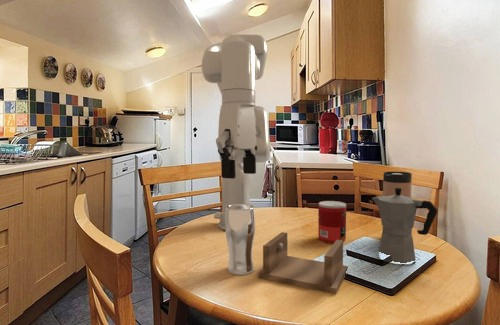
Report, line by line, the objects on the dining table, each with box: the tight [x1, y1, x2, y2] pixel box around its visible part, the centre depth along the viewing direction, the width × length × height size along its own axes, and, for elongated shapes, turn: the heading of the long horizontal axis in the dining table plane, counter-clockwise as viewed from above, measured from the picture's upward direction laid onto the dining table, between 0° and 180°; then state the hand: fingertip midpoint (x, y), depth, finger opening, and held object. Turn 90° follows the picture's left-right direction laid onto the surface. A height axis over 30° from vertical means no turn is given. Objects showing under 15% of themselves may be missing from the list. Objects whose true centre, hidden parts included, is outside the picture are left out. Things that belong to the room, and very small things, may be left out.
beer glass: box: [224, 203, 256, 276], centre depth 74 cm, size 7×7×15 cm
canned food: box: [317, 200, 347, 244], centre depth 95 cm, size 8×8×11 cm
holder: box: [257, 231, 349, 295], centre depth 71 cm, size 17×12×7 cm
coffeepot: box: [371, 188, 438, 263], centre depth 79 cm, size 15×9×18 cm, turn 43°
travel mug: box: [382, 171, 413, 198], centre depth 94 cm, size 8×8×20 cm
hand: (239, 175), depth 73 cm, fingers open, 9 cm apart
